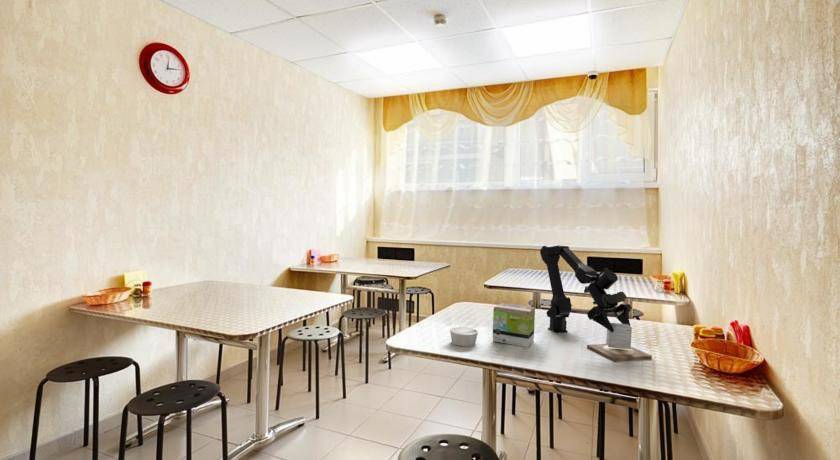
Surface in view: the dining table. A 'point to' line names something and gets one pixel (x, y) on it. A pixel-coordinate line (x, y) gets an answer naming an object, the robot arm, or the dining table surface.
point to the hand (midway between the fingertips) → (621, 330)
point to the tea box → (513, 324)
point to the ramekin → (463, 336)
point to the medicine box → (619, 336)
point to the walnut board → (619, 353)
